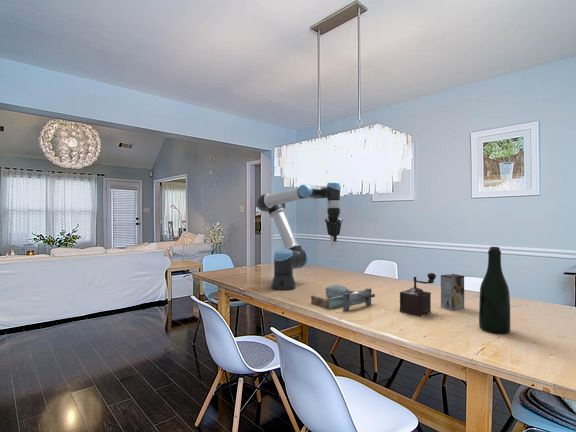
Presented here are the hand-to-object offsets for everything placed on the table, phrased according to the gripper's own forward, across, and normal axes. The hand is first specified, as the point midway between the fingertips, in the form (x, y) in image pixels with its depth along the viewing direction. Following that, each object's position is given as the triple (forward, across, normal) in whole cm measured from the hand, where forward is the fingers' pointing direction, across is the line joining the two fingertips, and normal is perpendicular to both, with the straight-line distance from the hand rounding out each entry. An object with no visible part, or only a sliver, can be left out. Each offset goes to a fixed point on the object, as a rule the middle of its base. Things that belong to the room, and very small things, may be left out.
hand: (333, 246), depth 194 cm
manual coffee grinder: (+27, +54, +3) cm, 60 cm away
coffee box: (+27, +61, +21) cm, 70 cm away
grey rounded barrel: (+27, +18, -15) cm, 36 cm away
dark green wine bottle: (+27, +86, +4) cm, 90 cm away
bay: (+26, +20, -16) cm, 37 cm away
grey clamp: (+26, +33, -14) cm, 45 cm away
